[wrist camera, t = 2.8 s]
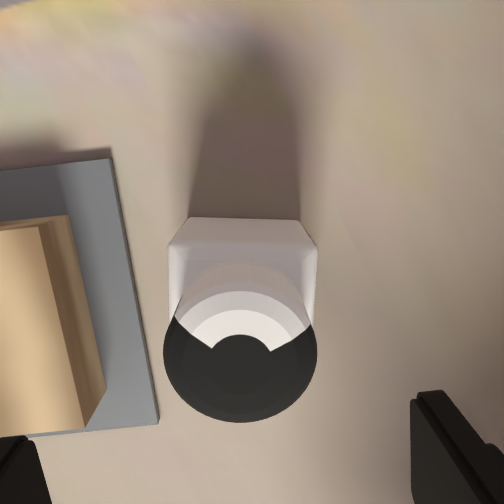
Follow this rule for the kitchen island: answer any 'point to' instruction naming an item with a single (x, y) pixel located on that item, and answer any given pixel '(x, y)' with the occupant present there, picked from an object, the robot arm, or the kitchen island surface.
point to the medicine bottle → (241, 316)
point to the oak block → (45, 331)
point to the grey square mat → (94, 278)
